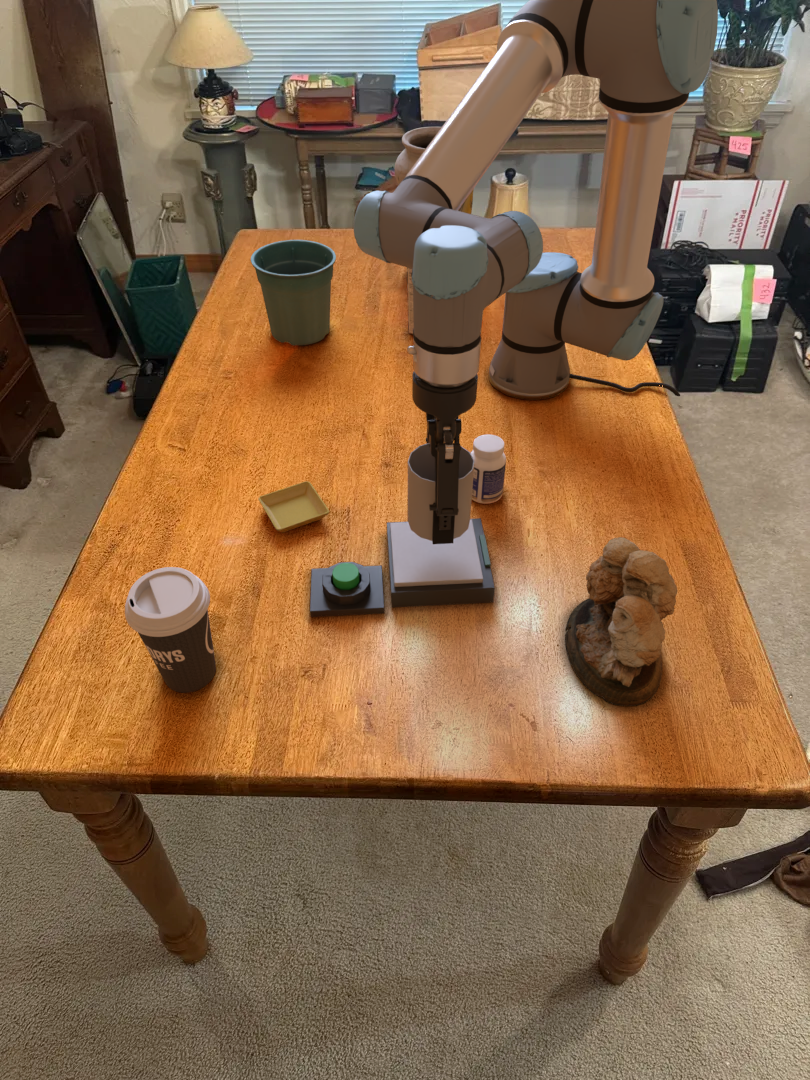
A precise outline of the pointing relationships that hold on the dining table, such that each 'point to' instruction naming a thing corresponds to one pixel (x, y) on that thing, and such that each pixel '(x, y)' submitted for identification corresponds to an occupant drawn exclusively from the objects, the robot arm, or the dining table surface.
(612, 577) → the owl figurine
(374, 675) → the dining table surface
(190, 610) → the coffee cup
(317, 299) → the flower pot
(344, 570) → the button
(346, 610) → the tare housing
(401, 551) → the scale
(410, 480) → the cup
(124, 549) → the dining table surface
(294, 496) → the olive yellow tray
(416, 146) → the vase
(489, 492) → the pill bottle
